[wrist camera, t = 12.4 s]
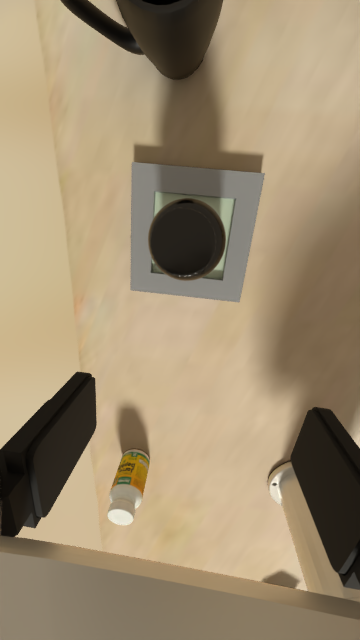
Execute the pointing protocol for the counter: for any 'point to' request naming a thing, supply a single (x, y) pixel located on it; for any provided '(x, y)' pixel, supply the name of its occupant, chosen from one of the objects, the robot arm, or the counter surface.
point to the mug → (158, 30)
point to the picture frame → (218, 192)
